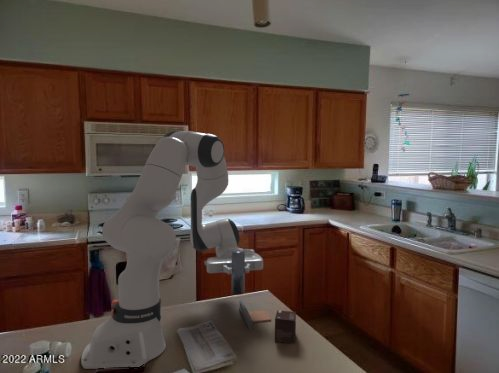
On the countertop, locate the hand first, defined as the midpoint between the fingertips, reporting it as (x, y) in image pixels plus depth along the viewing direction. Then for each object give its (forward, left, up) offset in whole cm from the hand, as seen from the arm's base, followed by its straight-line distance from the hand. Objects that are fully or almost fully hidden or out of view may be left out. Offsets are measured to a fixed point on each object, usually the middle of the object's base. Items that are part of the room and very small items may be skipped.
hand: (238, 271), depth 118 cm
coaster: (+7, +1, -17) cm, 18 cm away
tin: (0, +1, -7) cm, 8 cm away
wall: (+3, +1, -17) cm, 17 cm away
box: (+12, -14, -17) cm, 25 cm away
